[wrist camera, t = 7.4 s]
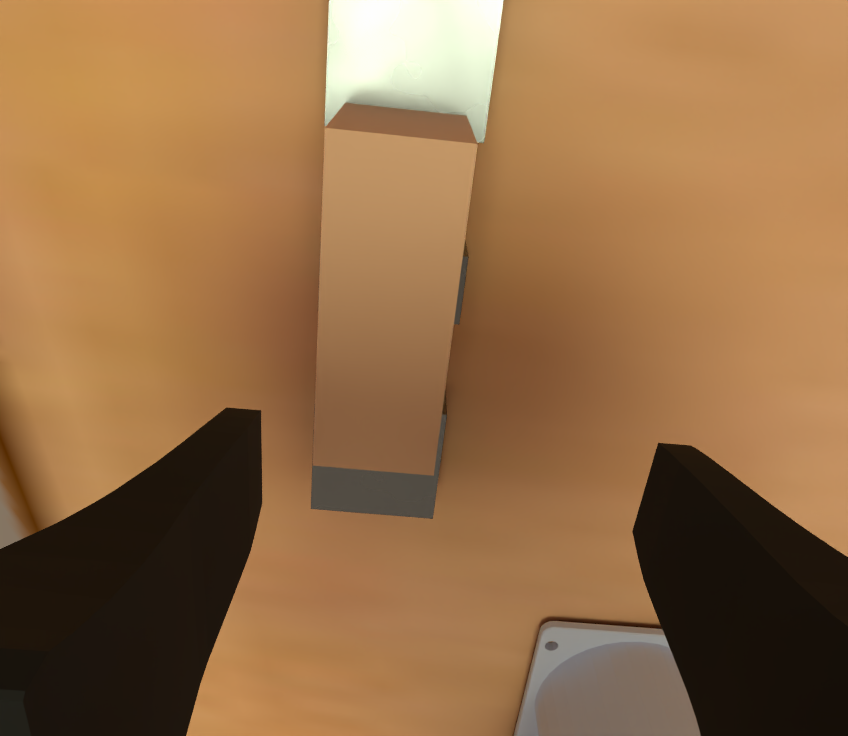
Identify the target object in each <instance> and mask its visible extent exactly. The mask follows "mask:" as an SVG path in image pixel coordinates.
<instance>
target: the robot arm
mask: <svg viewBox="0 0 848 736" xmlns="http://www.w3.org/2000/svg"><path fill="white" fill-rule="evenodd" d="M261 506H262V454H261V410H249V409H236V408H226V409H224V410H223V411H222V412H220V413H219V414H218V415H216V416H215V417H214V418H213V419H211V420H210V421H209V422H208V423H206V424H205V425H204V426H202V427H201V428H200V429H199V430H197V431H196V432H195V433H194V434H192V435H191V436H190V437H189V438H187V439H186V440H185V441H184V442H182V443H181V444H180V445H179V446H177V447H176V448H175V449H173V450H172V451H171V452H169V453H168V454H167V455H165V456H164V457H163V458H161V459H160V460H159V461H157V462H156V463H155V464H153V465H152V466H150V467H149V468H147V469H146V470H144V471H143V472H141V473H140V474H138V475H137V476H135V477H134V478H132V479H131V480H129V481H128V482H126V483H125V484H124V485H122V486H121V487H119V488H118V489H116V490H115V491H113V492H111V493H110V494H108V495H106V496H105V497H103V498H101V499H100V500H98V501H96V502H95V503H93V504H91V505H89V506H88V507H86V508H84V509H82V510H80V511H78V512H77V513H75V514H73V515H71V516H69V517H67V518H66V519H64V520H62V521H60V522H58V523H56V524H54V525H52V526H50V527H47V528H45V529H43V530H41V531H39V532H36V533H34V534H32V535H30V536H28V537H26V538H23V539H21V540H19V541H17V542H15V543H13V544H10V545H8V546H6V547H4V548H2V549H0V736H186V734H187V730H188V726H189V723H190V719H191V716H192V712H193V708H194V705H195V701H196V697H197V694H198V690H199V687H200V683H201V680H202V677H203V674H204V671H205V668H206V665H207V663H208V660H209V657H210V654H211V652H212V649H213V647H214V644H215V642H216V639H217V636H218V634H219V631H220V629H221V626H222V624H223V621H224V619H225V616H226V613H227V611H228V608H229V606H230V603H231V601H232V598H233V596H234V593H235V590H236V588H237V585H238V583H239V580H240V577H241V575H242V572H243V570H244V567H245V564H246V562H247V559H248V556H249V554H250V551H251V547H252V543H253V539H254V535H255V531H256V527H257V523H258V518H259V514H260V510H261ZM633 536H634V541H635V545H636V550H637V555H638V559H639V563H640V567H641V571H642V575H643V579H644V582H645V585H646V588H647V590H648V593H649V596H650V598H651V601H652V604H653V606H654V609H655V611H656V614H657V617H658V619H659V622H660V624H661V627H662V629H655V628H642V627H629V626H615V625H602V624H589V623H575V622H562V621H549V622H546V623H545V624H543V625H542V626H541V628H540V631H539V635H538V639H537V643H536V647H535V651H534V655H533V659H532V663H531V667H530V671H529V675H528V680H527V684H526V688H525V692H524V696H523V700H522V704H521V708H520V712H519V716H518V720H517V724H516V728H515V732H514V736H848V557H847V556H845V555H843V554H842V553H840V552H839V551H837V550H836V549H834V548H833V547H831V546H830V545H828V544H827V543H825V542H824V541H822V540H821V539H819V538H818V537H816V536H815V535H813V534H812V533H810V532H809V531H808V530H806V529H805V528H803V527H802V526H800V525H799V524H798V523H796V522H795V521H793V520H792V519H791V518H789V517H788V516H786V515H785V514H784V513H782V512H781V511H780V510H778V509H777V508H775V507H774V506H773V505H771V504H770V503H769V502H767V501H766V500H765V499H763V498H762V497H761V496H759V495H758V494H757V493H755V492H754V491H753V490H752V489H750V488H749V487H748V486H746V485H745V484H744V483H742V482H741V481H740V480H738V479H737V478H736V477H735V476H733V475H732V474H731V473H729V472H728V471H727V470H725V469H724V468H723V467H721V466H720V465H719V464H717V463H716V462H715V461H713V460H712V459H711V458H709V457H708V456H706V455H705V454H703V453H702V452H700V451H699V450H697V449H696V448H694V447H693V446H689V445H676V444H664V443H658V446H657V449H656V453H655V456H654V459H653V463H652V466H651V470H650V473H649V477H648V480H647V483H646V487H645V490H644V494H643V497H642V501H641V504H640V507H639V511H638V514H637V518H636V521H635V525H634V528H633ZM551 641H554V642H551ZM548 642H551V643H548Z"/></svg>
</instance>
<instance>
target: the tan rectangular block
mask: <svg viewBox="0 0 848 736" xmlns="http://www.w3.org/2000/svg"><path fill="white" fill-rule="evenodd" d="M477 145H478V143H477V141H476V138H475V136H474V133H473V131H472V128H471V126H470V123H469V120H468V118H467V116H464V115H455V114H446V113H436V112H427V111H418V110H408V109H399V108H390V107H381V106H371V105H362V104H353V103H345V104H344V105H343V106H342V107H341V109H340V110H339V111H338V112H337V113H336V115H335V116H334V117H333V118H332V120H331V121H330V122H329V123H328V124H327V126H326V127H325V136H324V164H323V192H322V220H321V247H320V275H319V303H318V331H317V359H316V386H315V414H314V442H313V466H324V467H336V468H348V469H360V470H372V471H384V472H396V473H408V474H420V475H431V476H434V470H435V462H436V455H437V447H438V440H439V432H440V425H441V417H442V409H443V402H444V394H445V387H446V379H447V372H448V364H449V357H450V349H451V342H452V334H453V326H454V319H455V311H456V304H457V296H458V289H459V281H460V274H461V266H462V259H463V251H464V244H465V236H466V228H467V221H468V213H469V206H470V198H471V191H472V183H473V176H474V168H475V161H476V153H477Z"/></svg>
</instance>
